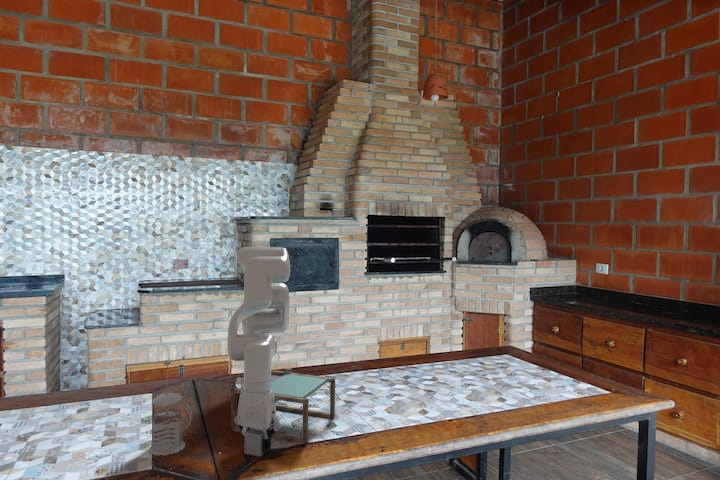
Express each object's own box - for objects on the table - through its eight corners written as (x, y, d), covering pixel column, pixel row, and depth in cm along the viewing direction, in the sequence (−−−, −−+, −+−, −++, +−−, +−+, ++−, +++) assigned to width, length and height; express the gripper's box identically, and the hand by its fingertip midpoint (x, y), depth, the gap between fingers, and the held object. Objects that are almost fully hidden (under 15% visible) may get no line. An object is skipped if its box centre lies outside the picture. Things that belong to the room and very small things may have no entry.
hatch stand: (230, 430, 146) (230, 384, 146) (267, 406, 167) (267, 365, 166) (306, 444, 138) (306, 395, 137) (334, 417, 158) (335, 373, 157)
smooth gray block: (244, 453, 132) (244, 432, 132) (254, 445, 137) (254, 425, 137) (260, 456, 130) (260, 435, 130) (269, 448, 135) (269, 427, 135)
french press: (155, 439, 140) (155, 355, 139) (195, 438, 141) (196, 354, 140) (142, 456, 130) (142, 365, 129) (186, 454, 131) (186, 364, 130)
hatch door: (239, 413, 147) (239, 388, 147) (269, 393, 164) (270, 371, 164) (302, 423, 140) (302, 397, 140) (327, 402, 157) (327, 379, 156)
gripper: (223, 385, 132) (223, 449, 133) (277, 393, 127) (277, 460, 127) (239, 377, 140) (238, 438, 140) (291, 384, 134) (290, 448, 134)
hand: (257, 448), depth 134 cm, fingers open, 5 cm apart
